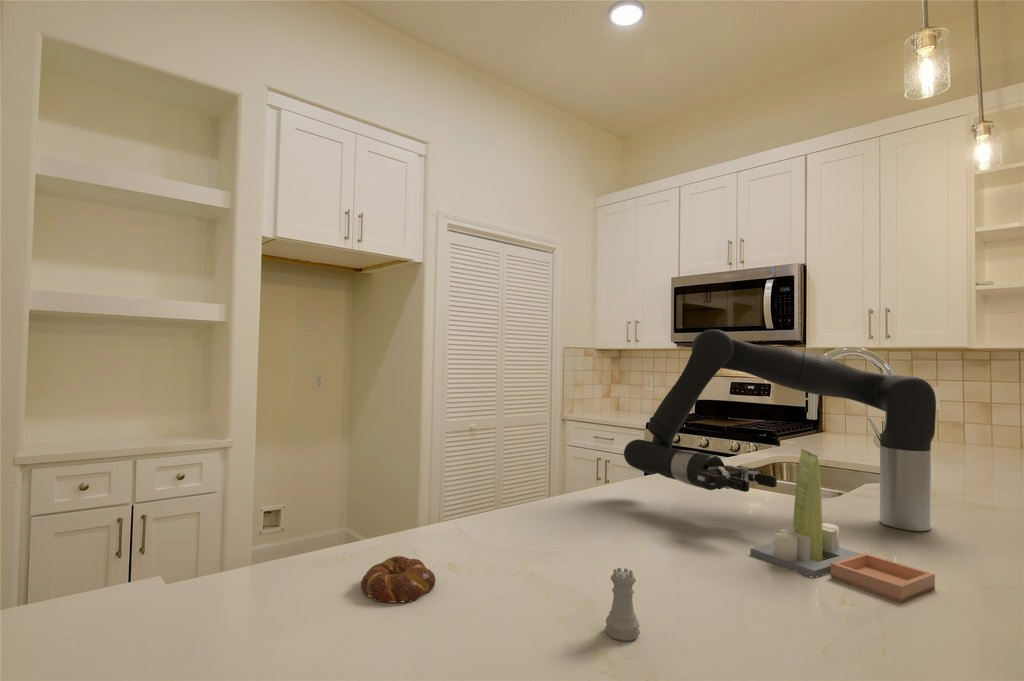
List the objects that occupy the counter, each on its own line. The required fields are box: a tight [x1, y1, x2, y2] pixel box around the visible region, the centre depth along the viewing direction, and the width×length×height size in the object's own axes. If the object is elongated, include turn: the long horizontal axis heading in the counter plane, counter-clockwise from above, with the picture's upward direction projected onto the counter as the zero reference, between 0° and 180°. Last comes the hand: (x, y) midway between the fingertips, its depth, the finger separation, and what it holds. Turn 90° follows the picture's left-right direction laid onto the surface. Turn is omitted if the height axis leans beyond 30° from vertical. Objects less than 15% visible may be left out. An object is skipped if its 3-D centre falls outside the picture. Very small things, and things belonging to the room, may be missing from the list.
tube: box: [792, 447, 823, 562], centre depth 101 cm, size 6×5×20 cm
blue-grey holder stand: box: [749, 522, 861, 578], centre depth 101 cm, size 17×12×5 cm
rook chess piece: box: [604, 567, 641, 642], centre depth 72 cm, size 4×4×8 cm
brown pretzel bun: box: [360, 555, 436, 603], centre depth 84 cm, size 12×11×4 cm
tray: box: [830, 552, 936, 604], centre depth 90 cm, size 11×11×2 cm
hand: (762, 484), depth 109 cm, fingers open, 8 cm apart
